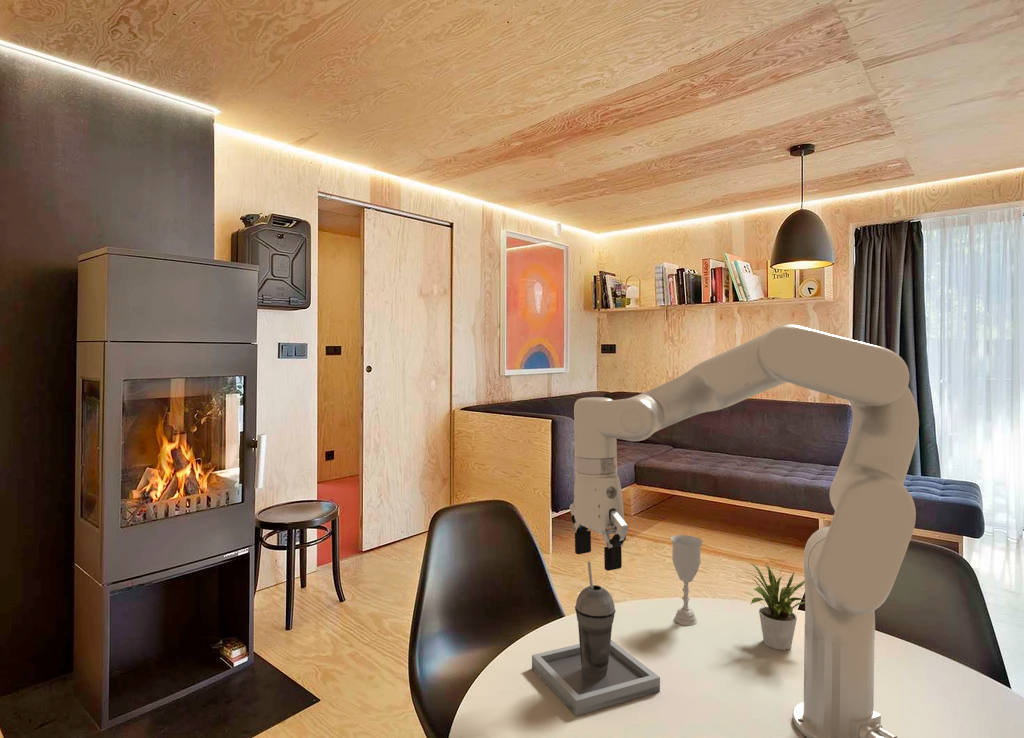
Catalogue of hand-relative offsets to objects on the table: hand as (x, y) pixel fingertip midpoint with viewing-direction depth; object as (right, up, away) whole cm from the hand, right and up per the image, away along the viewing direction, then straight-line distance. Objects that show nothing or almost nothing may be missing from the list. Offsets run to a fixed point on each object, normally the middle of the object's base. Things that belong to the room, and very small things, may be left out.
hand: (597, 560), depth 104 cm
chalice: (+23, -22, +25) cm, 40 cm away
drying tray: (-1, -22, 0) cm, 22 cm away
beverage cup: (0, -21, 0) cm, 21 cm away
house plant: (+38, -22, +15) cm, 46 cm away
